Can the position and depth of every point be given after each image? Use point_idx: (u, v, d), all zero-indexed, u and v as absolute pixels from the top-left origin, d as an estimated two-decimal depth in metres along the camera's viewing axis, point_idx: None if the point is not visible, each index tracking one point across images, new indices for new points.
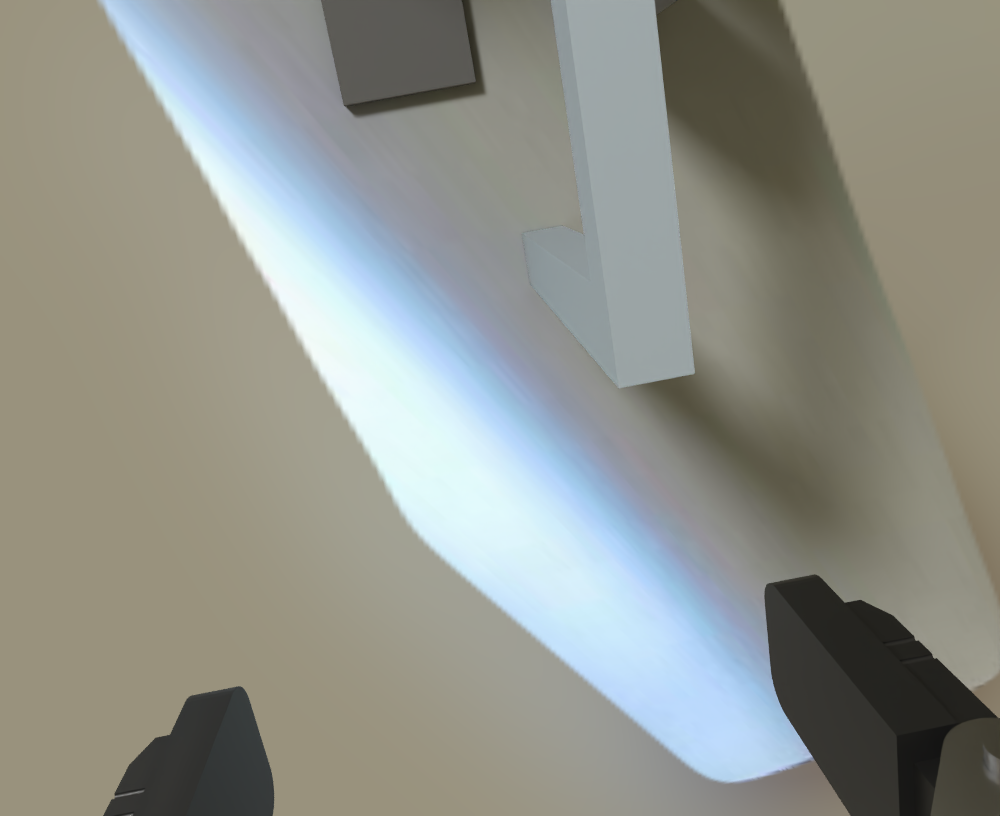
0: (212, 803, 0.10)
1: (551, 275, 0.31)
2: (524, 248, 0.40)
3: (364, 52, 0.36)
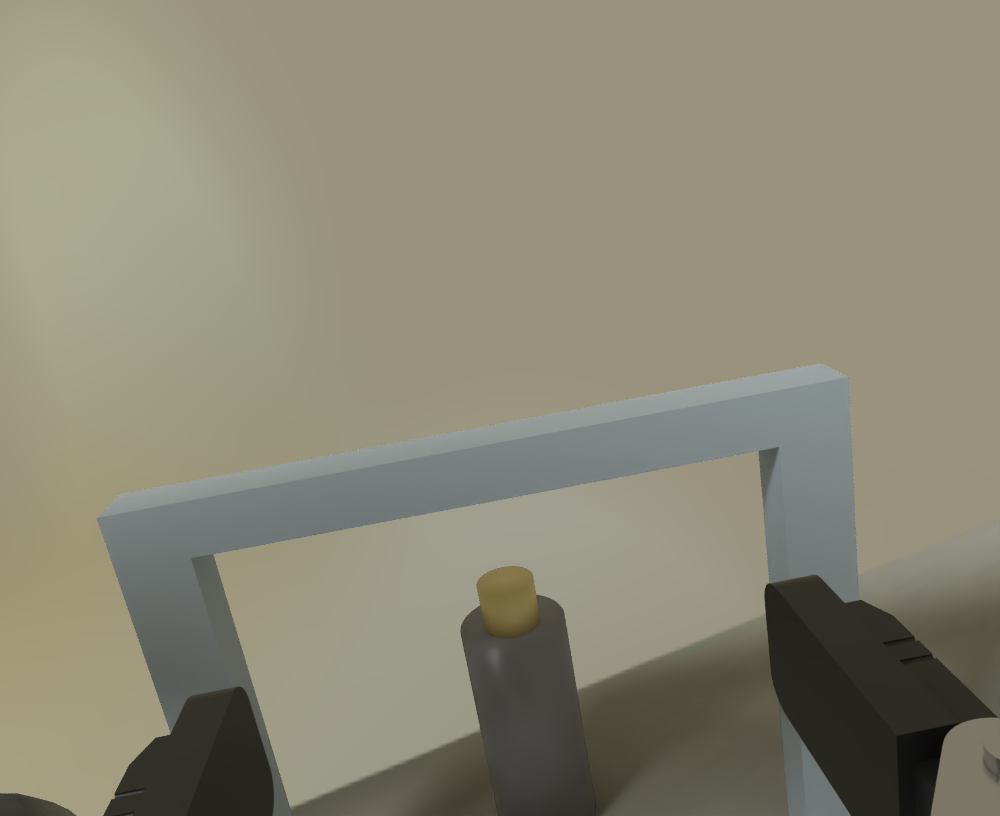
0: (211, 803, 0.10)
1: None
2: None
3: None
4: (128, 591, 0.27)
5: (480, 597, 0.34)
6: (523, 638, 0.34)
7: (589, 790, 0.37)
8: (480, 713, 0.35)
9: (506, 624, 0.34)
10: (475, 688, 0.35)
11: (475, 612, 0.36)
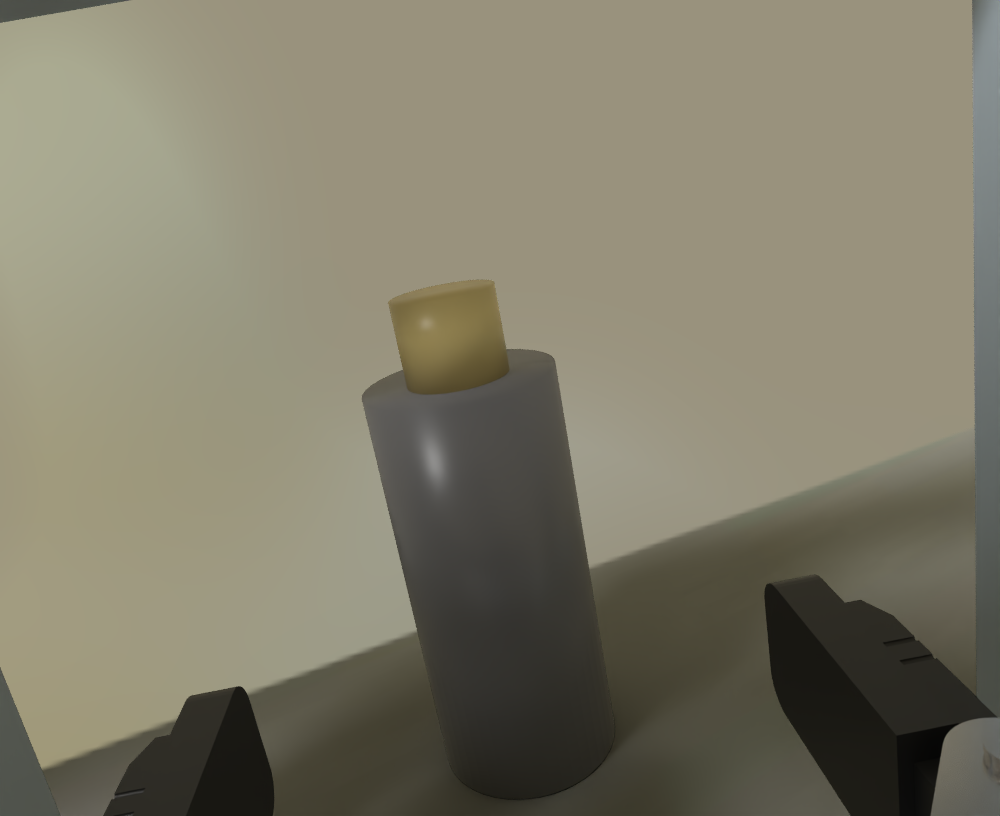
0: (212, 804, 0.10)
1: None
2: None
3: None
4: None
5: (394, 319, 0.18)
6: (476, 390, 0.18)
7: (604, 695, 0.20)
8: (401, 548, 0.19)
9: (442, 364, 0.18)
10: (390, 498, 0.19)
11: (395, 375, 0.20)
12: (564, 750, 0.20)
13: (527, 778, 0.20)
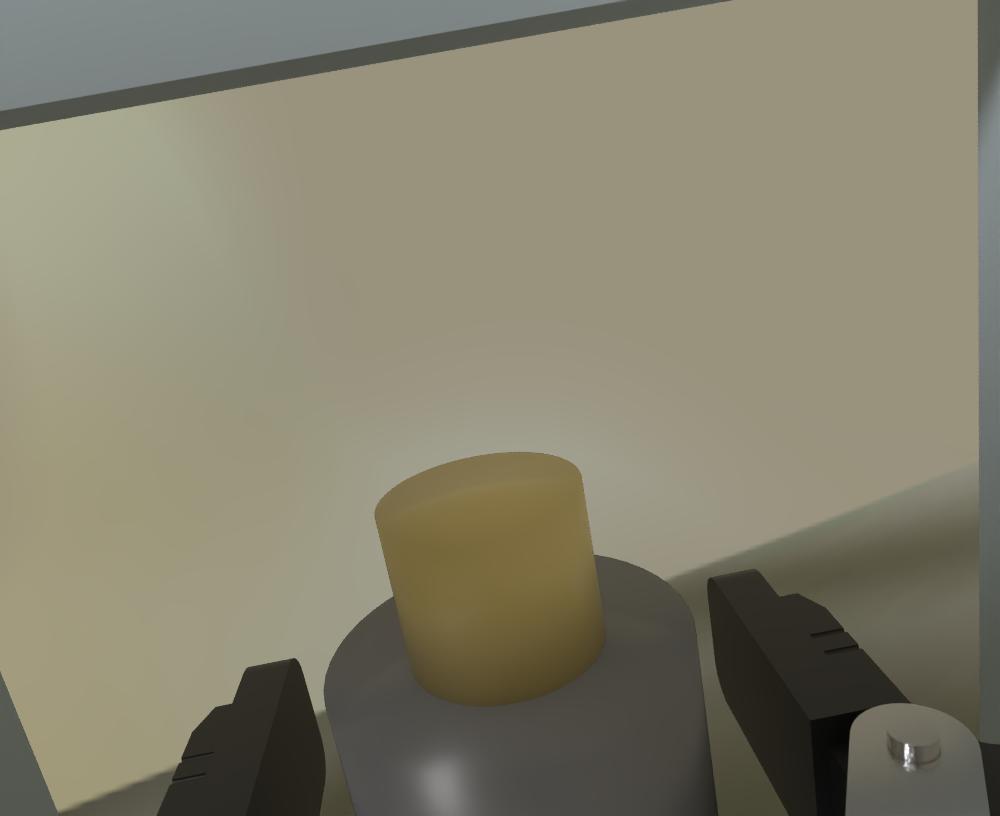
0: (277, 765, 0.11)
1: None
2: None
3: None
4: None
5: (385, 551, 0.09)
6: (549, 706, 0.09)
7: None
8: None
9: (481, 654, 0.09)
10: None
11: (390, 608, 0.11)
12: None
13: None
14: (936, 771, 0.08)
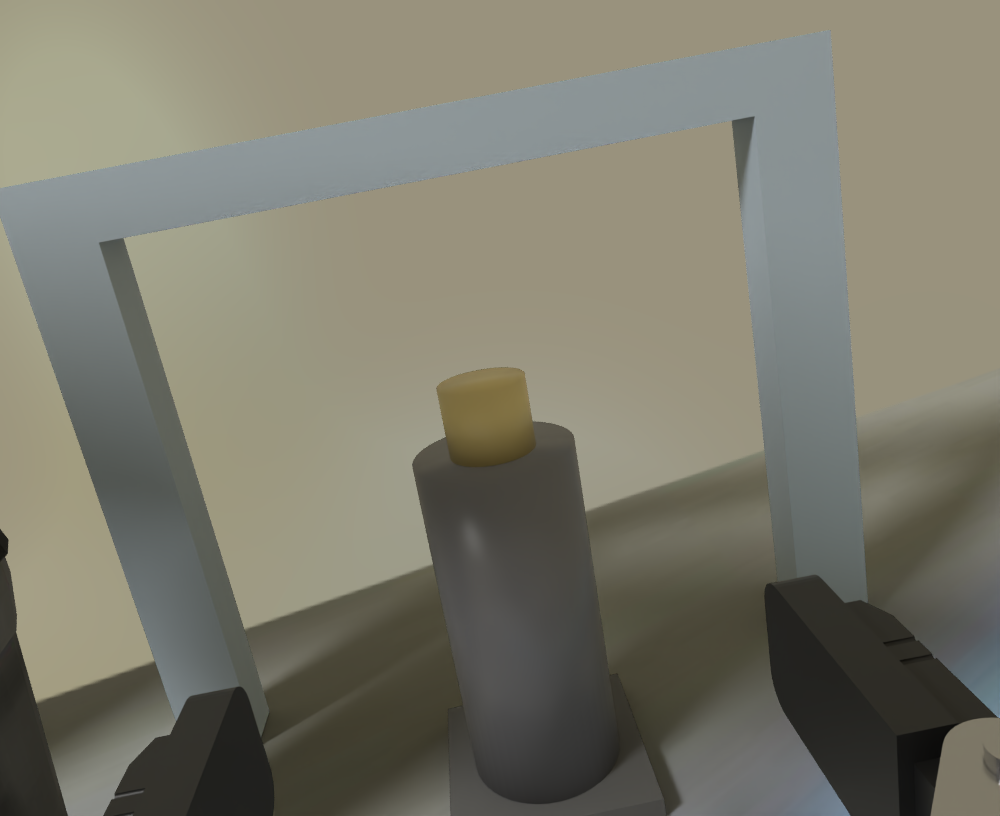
0: (212, 803, 0.10)
1: (806, 384, 0.27)
2: None
3: None
4: (30, 282, 0.24)
5: (441, 403, 0.22)
6: (509, 464, 0.21)
7: (611, 716, 0.24)
8: (443, 592, 0.23)
9: (482, 443, 0.21)
10: (435, 551, 0.22)
11: (437, 444, 0.24)
12: (577, 763, 0.23)
13: (546, 786, 0.23)
14: None
